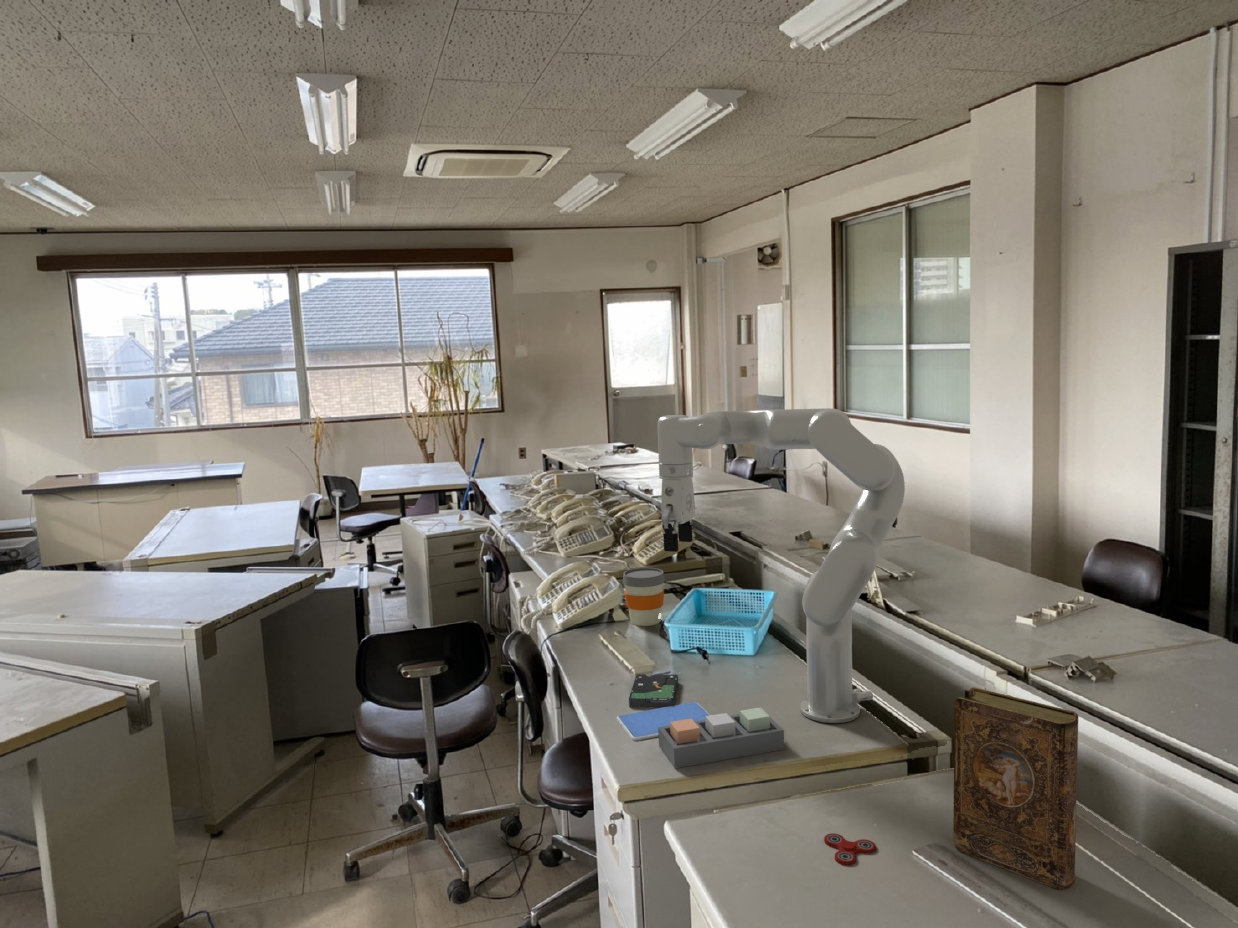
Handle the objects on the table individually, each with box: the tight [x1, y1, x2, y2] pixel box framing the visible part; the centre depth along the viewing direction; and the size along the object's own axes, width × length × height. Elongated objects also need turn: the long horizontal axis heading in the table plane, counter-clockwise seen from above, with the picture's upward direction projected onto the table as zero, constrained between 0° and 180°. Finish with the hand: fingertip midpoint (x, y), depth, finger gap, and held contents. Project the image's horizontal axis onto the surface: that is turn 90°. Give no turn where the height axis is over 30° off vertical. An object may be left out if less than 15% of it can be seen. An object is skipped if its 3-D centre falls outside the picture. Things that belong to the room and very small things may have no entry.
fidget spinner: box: [823, 832, 877, 866], centre depth 133 cm, size 8×7×1 cm
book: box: [952, 686, 1079, 891], centre depth 126 cm, size 16×6×25 cm, turn 45°
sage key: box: [739, 707, 771, 732], centre depth 170 cm, size 5×5×2 cm
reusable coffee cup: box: [622, 567, 666, 627], centre depth 252 cm, size 12×12×15 cm
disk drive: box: [628, 673, 679, 709], centre depth 197 cm, size 10×3×15 cm
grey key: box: [705, 712, 735, 738], centre depth 169 cm, size 5×5×2 cm
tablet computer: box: [616, 701, 711, 742], centre depth 182 cm, size 19×13×1 cm, turn 107°
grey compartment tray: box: [658, 713, 785, 769], centre depth 169 cm, size 23×10×4 cm, turn 105°
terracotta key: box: [670, 719, 700, 744], centre depth 167 cm, size 5×5×2 cm
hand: (678, 546), depth 189 cm, fingers open, 9 cm apart
